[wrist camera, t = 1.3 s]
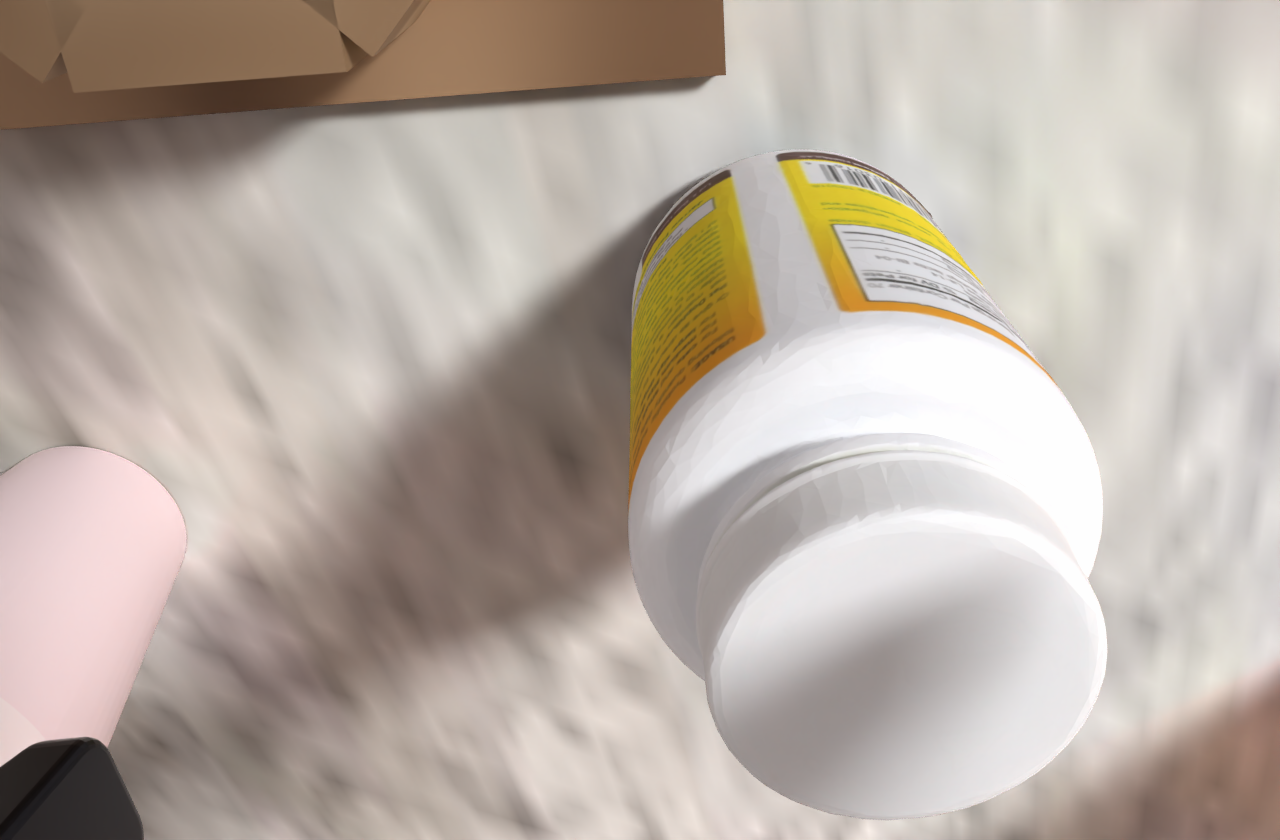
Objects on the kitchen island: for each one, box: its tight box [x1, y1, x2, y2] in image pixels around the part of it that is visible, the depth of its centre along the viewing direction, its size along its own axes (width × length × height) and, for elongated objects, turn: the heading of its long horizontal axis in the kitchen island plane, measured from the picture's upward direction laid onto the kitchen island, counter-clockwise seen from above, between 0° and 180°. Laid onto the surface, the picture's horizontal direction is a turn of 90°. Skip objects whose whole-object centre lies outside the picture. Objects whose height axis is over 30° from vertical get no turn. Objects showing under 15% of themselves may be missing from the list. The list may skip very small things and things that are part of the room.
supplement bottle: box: [628, 149, 1107, 820], centre depth 15 cm, size 6×6×10 cm
